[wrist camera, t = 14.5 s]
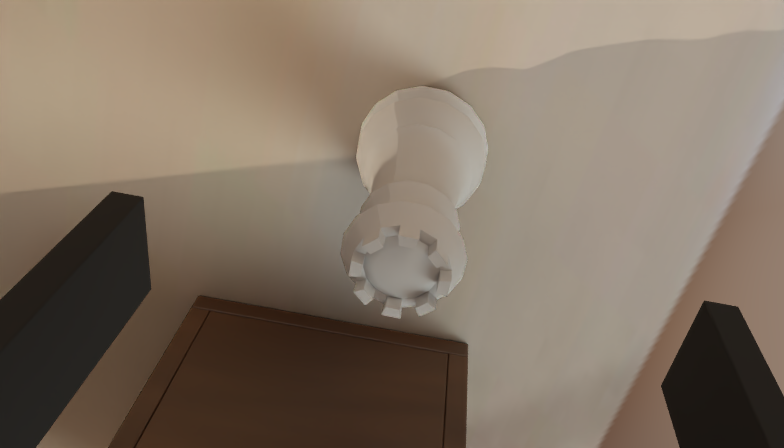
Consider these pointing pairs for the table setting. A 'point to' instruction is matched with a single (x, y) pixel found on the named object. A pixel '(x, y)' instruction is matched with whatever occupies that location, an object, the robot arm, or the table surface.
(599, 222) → the table surface
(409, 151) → the rook chess piece
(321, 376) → the box
